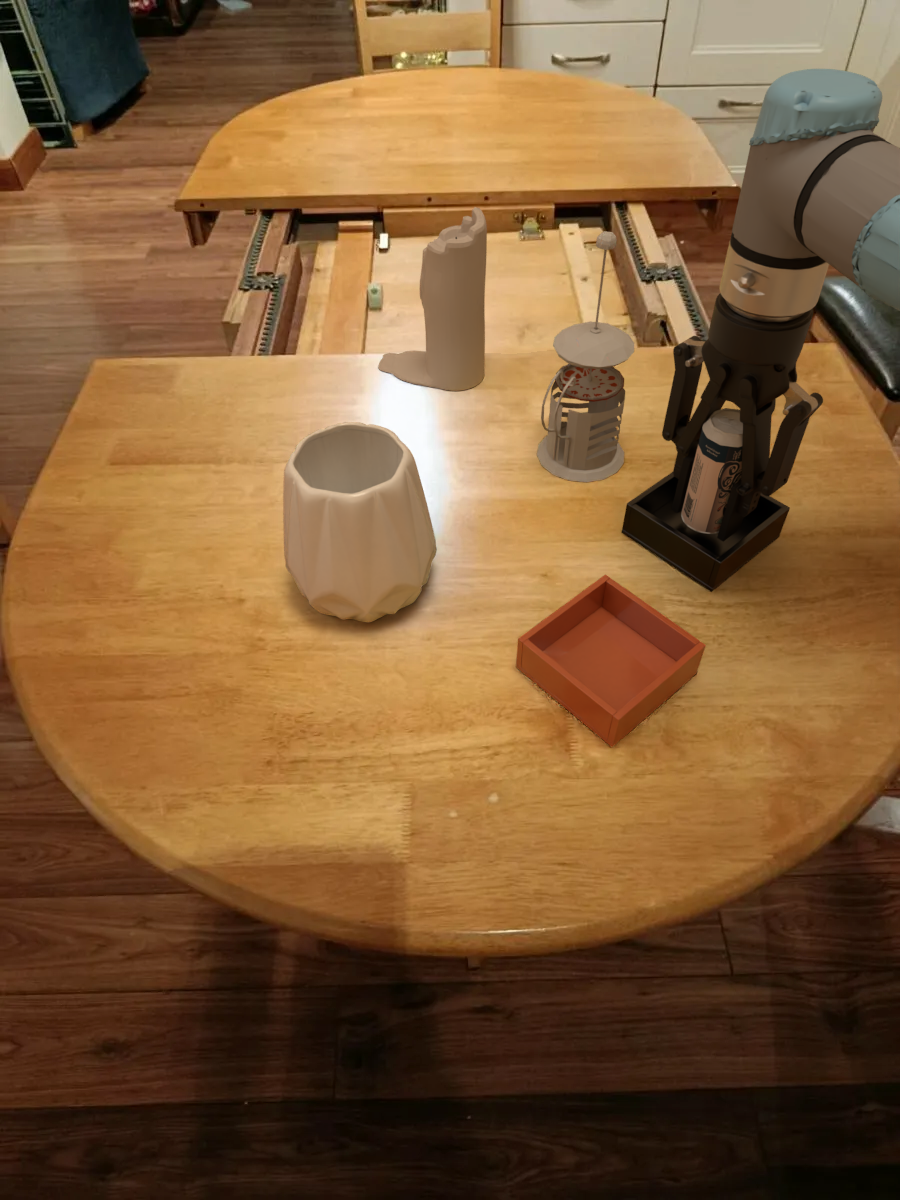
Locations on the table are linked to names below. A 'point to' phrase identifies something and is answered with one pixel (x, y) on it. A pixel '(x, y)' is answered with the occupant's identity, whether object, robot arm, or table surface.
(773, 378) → the robot arm
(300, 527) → the vase
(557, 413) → the french press
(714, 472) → the beer can
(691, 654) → the terracotta bin
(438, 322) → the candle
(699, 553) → the black bin
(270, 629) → the table surface
